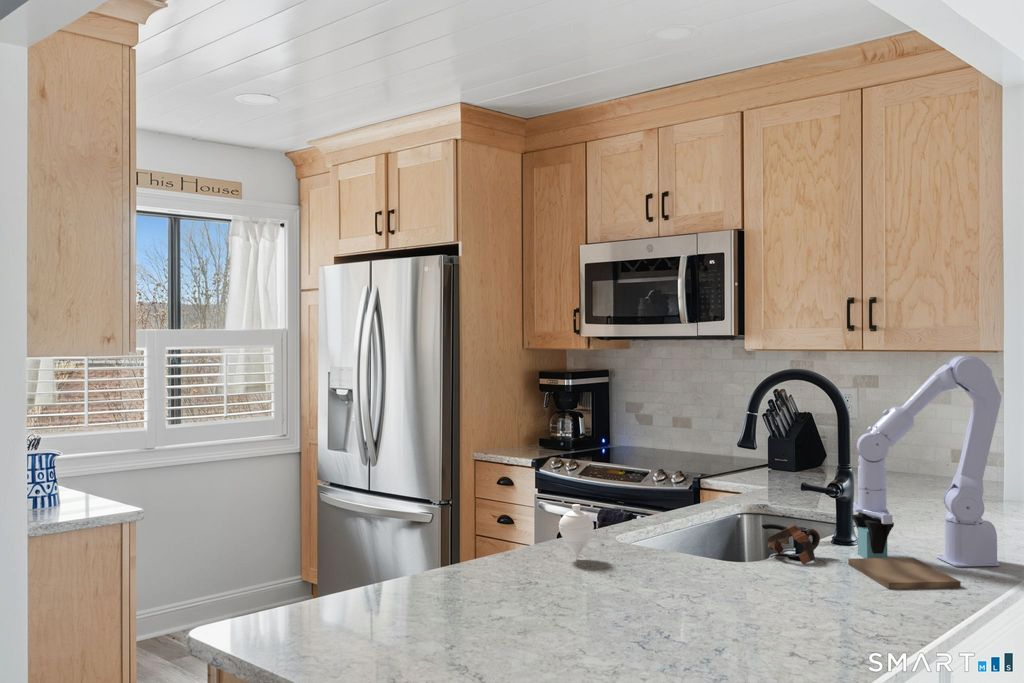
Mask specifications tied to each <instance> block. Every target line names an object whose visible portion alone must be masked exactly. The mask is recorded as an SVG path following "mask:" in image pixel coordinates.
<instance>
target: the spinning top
mask: <svg viewBox="0 0 1024 683" xmlns="http://www.w3.org/2000/svg"><path fill="white" fill-rule="evenodd" d="M581 506H582V505H581V504H577V503H573V504H571V510H570V511H567V512H566V513H564V514H563V516H562V517H561V518H560V520H559V522H558V529H559V533H560V535H561V537H562V539H563V541H564V543H565V544H566V546H567V547H568V548H569V549H570V551H571V552H572V553H573V554H574V556H575V559H576V558H577V559H578V555H580V554H581V552H582V551H583V550H584V549H585V547H586V545H587V544H588V542H589V541H590V540H591V537H592V536H593V533H594V528H595V525H594V521H593V519H592V518H591V516H590V515H589V514H588V513H587V512H585V511H582V510H581Z"/></svg>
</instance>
